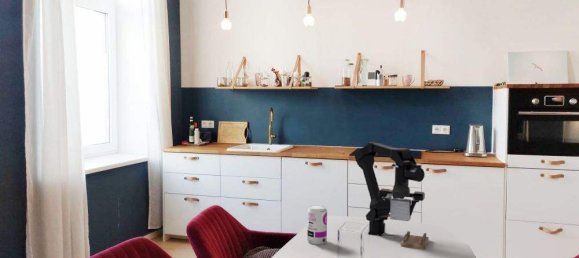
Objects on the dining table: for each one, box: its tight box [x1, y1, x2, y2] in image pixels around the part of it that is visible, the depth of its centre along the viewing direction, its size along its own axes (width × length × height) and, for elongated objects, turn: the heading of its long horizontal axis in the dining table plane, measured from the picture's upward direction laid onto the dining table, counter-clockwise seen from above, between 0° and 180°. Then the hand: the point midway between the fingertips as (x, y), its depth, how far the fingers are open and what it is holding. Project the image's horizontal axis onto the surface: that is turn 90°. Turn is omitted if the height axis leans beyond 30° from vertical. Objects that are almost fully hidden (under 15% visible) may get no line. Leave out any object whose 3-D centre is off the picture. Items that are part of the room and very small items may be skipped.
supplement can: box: [306, 204, 328, 245], centre depth 205 cm, size 8×8×15 cm
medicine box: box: [389, 197, 412, 222], centre depth 205 cm, size 8×4×9 cm, turn 64°
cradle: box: [400, 230, 430, 250], centre depth 205 cm, size 10×13×3 cm
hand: (400, 214), depth 205 cm, fingers closed on medicine box, 8 cm apart
